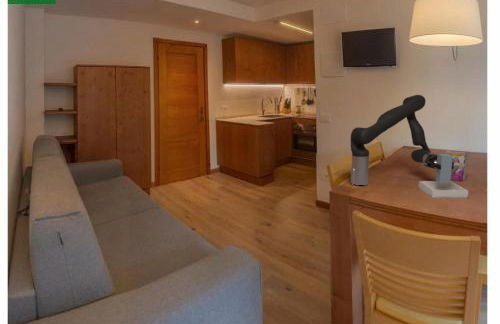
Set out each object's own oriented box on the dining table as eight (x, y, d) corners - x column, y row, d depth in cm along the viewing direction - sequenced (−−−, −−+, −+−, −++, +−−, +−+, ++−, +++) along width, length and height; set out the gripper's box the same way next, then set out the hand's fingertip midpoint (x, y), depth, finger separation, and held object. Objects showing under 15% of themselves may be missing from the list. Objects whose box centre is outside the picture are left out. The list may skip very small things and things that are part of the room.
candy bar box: (441, 178, 188) (443, 152, 185) (444, 177, 192) (446, 150, 188) (462, 181, 180) (465, 154, 177) (465, 180, 183) (468, 152, 180)
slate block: (439, 182, 158) (441, 155, 156) (435, 180, 163) (437, 154, 160) (450, 182, 158) (452, 155, 155) (445, 180, 162) (448, 153, 160)
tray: (432, 198, 154) (432, 190, 153) (418, 188, 172) (419, 181, 171) (467, 198, 152) (468, 190, 151) (450, 188, 169) (450, 181, 168)
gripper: (419, 154, 173) (431, 160, 157) (447, 153, 171) (462, 160, 154) (418, 167, 175) (430, 174, 158) (445, 166, 172) (461, 174, 156)
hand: (446, 167), depth 156 cm, fingers closed on slate block, 5 cm apart
